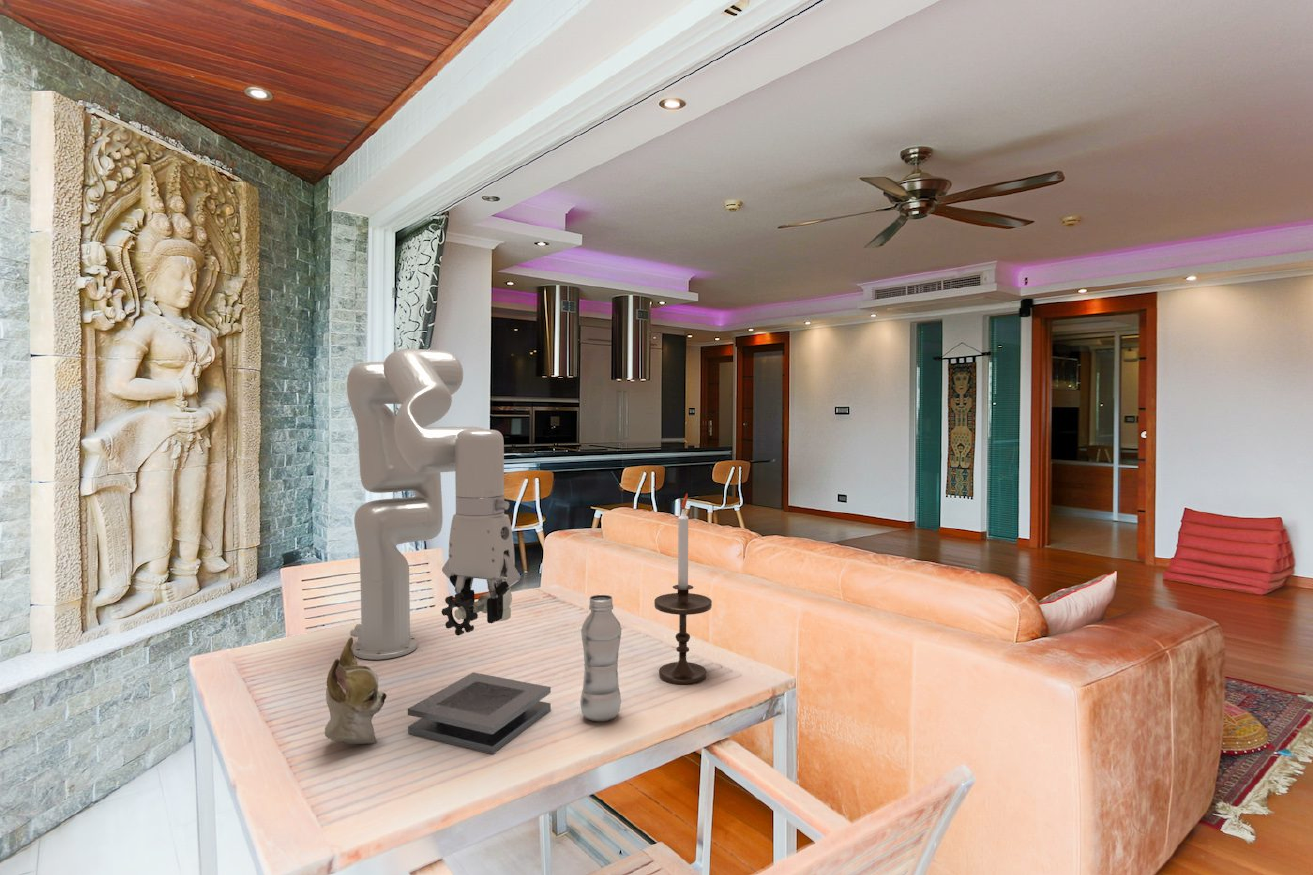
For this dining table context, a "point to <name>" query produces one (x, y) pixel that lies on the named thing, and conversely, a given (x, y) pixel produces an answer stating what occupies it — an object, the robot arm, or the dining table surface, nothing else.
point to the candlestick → (682, 613)
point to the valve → (471, 610)
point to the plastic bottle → (600, 661)
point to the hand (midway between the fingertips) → (480, 617)
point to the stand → (479, 712)
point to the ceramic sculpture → (352, 700)
